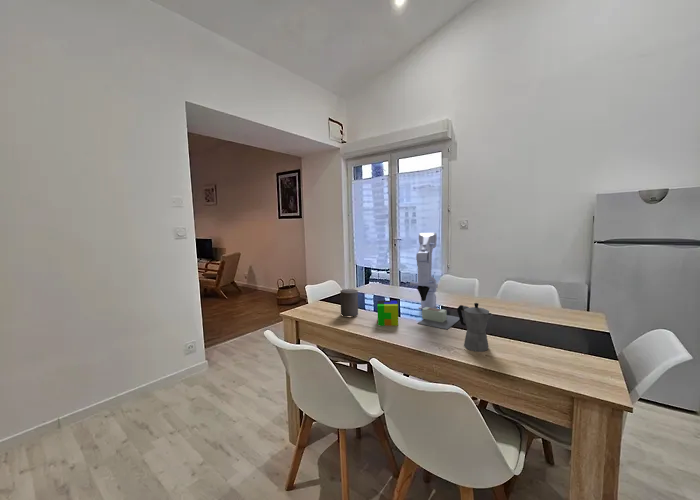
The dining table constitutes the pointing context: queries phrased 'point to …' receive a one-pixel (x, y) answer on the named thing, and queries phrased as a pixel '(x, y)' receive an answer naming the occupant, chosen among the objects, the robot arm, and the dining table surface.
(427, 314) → the tall block
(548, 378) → the dining table surface
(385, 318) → the puzzle toy
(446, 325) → the mat
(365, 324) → the dining table surface
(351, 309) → the pillar candle
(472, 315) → the coffeepot
